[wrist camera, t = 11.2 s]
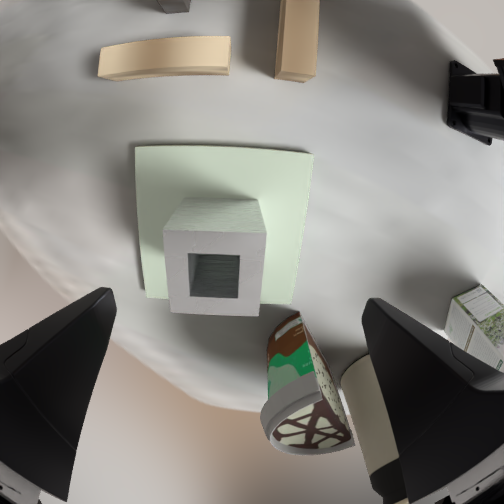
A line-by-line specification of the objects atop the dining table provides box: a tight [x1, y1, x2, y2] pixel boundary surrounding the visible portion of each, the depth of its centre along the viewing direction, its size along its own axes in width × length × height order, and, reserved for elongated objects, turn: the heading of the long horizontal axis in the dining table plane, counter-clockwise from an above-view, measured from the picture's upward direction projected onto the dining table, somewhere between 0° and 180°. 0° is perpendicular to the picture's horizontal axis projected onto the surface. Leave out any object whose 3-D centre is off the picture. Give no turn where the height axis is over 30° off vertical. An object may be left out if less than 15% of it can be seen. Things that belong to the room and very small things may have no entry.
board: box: [135, 145, 314, 304], centre depth 20 cm, size 12×12×1 cm
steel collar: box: [163, 197, 267, 316], centre depth 17 cm, size 5×5×6 cm
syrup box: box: [444, 285, 504, 373], centre depth 19 cm, size 6×6×14 cm
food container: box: [260, 312, 355, 455], centre depth 22 cm, size 12×6×10 cm, turn 28°
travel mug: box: [341, 355, 409, 504], centre depth 21 cm, size 8×8×18 cm
